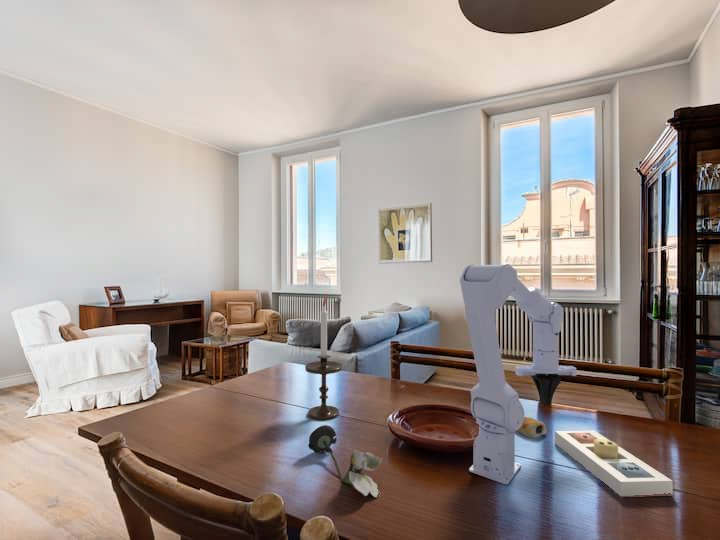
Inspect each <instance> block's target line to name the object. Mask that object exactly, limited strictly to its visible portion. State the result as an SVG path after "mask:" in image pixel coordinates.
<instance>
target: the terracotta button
mask: <svg viewBox="0 0 720 540" xmlns="http://www.w3.org/2000/svg"><path fill="white" fill-rule="evenodd" d="M574 439H575V440H577V441H578V442H579V443H581V444H594V440H595V439H596V438H595V437H593V436H592V435H589V434H585V433H575V434H574Z"/></svg>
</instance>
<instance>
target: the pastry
mask: <svg viewBox="0 0 720 540" xmlns="http://www.w3.org/2000/svg"><path fill="white" fill-rule="evenodd" d="M516 432H517V433H520V434H521V435H524V436H526V437H528V438H533V439H534V438H535V439H536V438H537V439H538V438H539V437H540V436H543V435H545V434H546V433H547V427H546V424H545V423H544V422H543V421H539V420H537V419H536V418H533V417H527V416H524V421H523V424H522V426H521V427H520V428H519V429H518V430H517V431H516Z"/></svg>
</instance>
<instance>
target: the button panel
mask: <svg viewBox="0 0 720 540" xmlns="http://www.w3.org/2000/svg"><path fill="white" fill-rule="evenodd" d="M575 433H585V434H589V435H592V436H593V437H595V438H596V439H605V440H609V441H611V440H610V439H609V438H607V437H606V436H604V435H602V434H600V432H597V431H596V430H555V431H554V444H555V445H556V446H558V448H560V449H561V450H562V449H563V450H562V451H564V452H565V453H566V452H567V453H568V454H567V453H566V454H567V455H569V456H570V455H571V456H572V457H573V458H574V461H576V460H577V461H578V462H579V463H580V464H579V463H578V462H577V461H576V462H577V463H578V464H579V465H581V464H582V465H583V466H584V467H585V468H587V469H588V470H589V471H590V472H592V473H591V474H592V475H593V474H594V475H595V476H596V477H597V479H598V478H599V479H600V480H601V481H603V482H604V483H605V484H607V485H608V486H609V487H610V488H612V489H613V490H614V491H615V492H616V493H618V494H619V495H620V496H634V495H653V494H664V493H666V494H668V493H671V494H673V492H674V491H673V488H674V487H673V484H674V483H673V480H672V479H670V478H669V477H667V476H666V475H665V474H663V473H661V472H660V471H658V470H656V469H655V468H653V467H652V466H650V465H649V464H647V463H645V462H644V461H643V460H641V459H640V458H638V457H637V456H634V455H633V454H631V452H628V451H627V450H626V449H624V448H622V447H620V446H619V445H618V459H601V458H600V457H598V456H597V455H596V454H594V444H581V443H579V442H578V441H577V440H575V439H574V434H575ZM571 456H570V457H571ZM572 457H571V458H572ZM573 458H572V459H573ZM619 463H628V464H633V465H635V466H638V467H640V468H641V469H643V470H644V472H645V478H627V477H625V476H624V475H623V474H621V473H620V472H619V471H617V464H619ZM582 465H581V466H582ZM583 466H582V467H583ZM584 467H583V468H584ZM585 468H584V469H585ZM587 469H586V470H587ZM588 470H587V471H588ZM589 471H588V472H589ZM590 472H589V473H590ZM594 475H593V476H594ZM595 476H594V477H595ZM596 477H595V478H596ZM599 479H598V480H599ZM600 480H599V481H600ZM601 481H600V482H601ZM604 483H603V484H604ZM605 484H604V485H605ZM610 488H609V489H610ZM615 492H614V493H615ZM616 493H615V494H616Z"/></svg>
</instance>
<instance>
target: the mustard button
mask: <svg viewBox="0 0 720 540" xmlns="http://www.w3.org/2000/svg"><path fill="white" fill-rule="evenodd" d="M609 440H610V439H608V440H605V439H595V440H594V454H596V455H597V456H598V457H600V458H601V459H618V446H619V444H618V443H617V442H615V441H612V440H610V441H609Z"/></svg>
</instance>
